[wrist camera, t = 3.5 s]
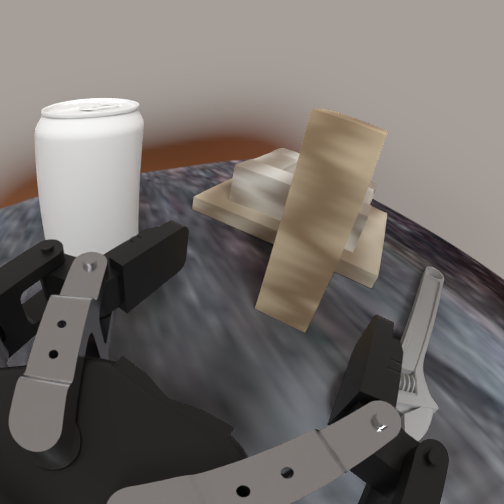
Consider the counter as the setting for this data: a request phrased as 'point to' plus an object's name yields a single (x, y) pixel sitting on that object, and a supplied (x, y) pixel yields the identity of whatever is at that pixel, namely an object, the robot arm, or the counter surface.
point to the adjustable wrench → (418, 357)
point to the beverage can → (89, 172)
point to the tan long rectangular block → (318, 214)
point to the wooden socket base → (272, 206)
